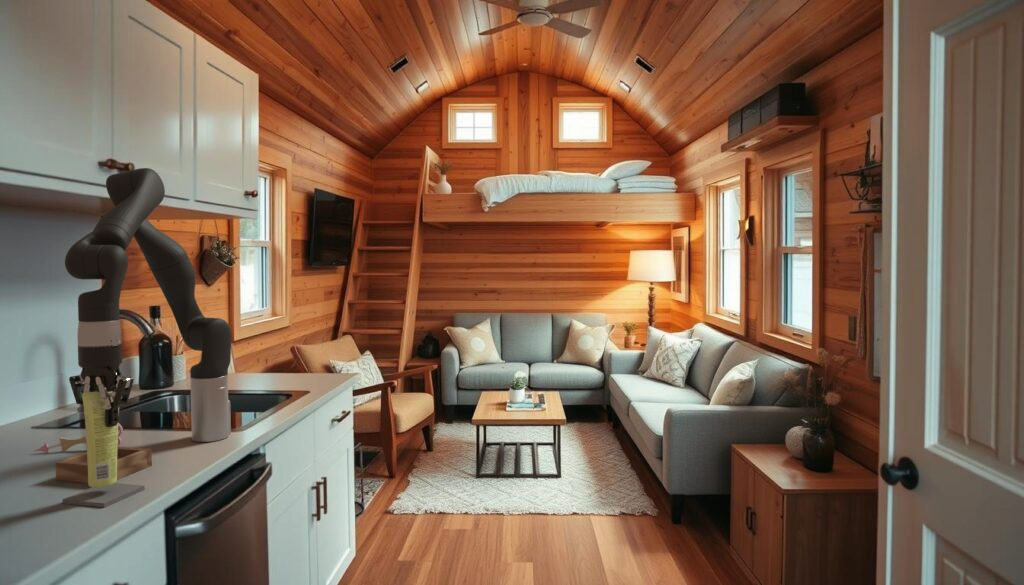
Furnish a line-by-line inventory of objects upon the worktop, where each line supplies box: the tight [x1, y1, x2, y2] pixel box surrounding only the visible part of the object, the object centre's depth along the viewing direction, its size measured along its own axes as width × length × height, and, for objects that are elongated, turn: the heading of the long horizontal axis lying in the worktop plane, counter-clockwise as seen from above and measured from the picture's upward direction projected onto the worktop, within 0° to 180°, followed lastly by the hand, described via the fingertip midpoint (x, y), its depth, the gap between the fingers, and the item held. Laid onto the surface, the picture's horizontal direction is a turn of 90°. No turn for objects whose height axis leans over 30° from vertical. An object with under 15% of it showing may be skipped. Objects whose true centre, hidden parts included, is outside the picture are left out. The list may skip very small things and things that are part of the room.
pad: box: [61, 482, 145, 508], centre depth 127 cm, size 10×10×1 cm
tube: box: [81, 391, 120, 488], centre depth 126 cm, size 6×5×20 cm
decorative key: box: [33, 422, 124, 454], centre depth 158 cm, size 7×1×20 cm
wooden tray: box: [54, 446, 153, 484], centre depth 141 cm, size 13×13×4 cm
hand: (102, 425), depth 126 cm, fingers closed on tube, 4 cm apart
